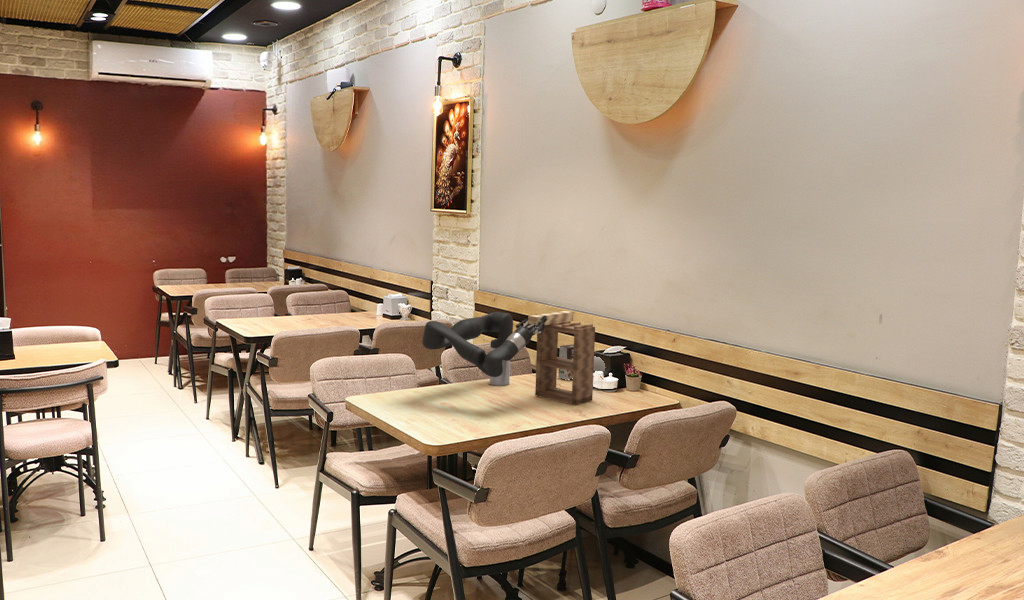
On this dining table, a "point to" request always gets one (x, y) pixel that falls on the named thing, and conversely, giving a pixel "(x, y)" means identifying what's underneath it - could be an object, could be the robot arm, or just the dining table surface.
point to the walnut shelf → (566, 363)
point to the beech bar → (552, 317)
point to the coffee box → (566, 353)
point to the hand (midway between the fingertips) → (541, 316)
